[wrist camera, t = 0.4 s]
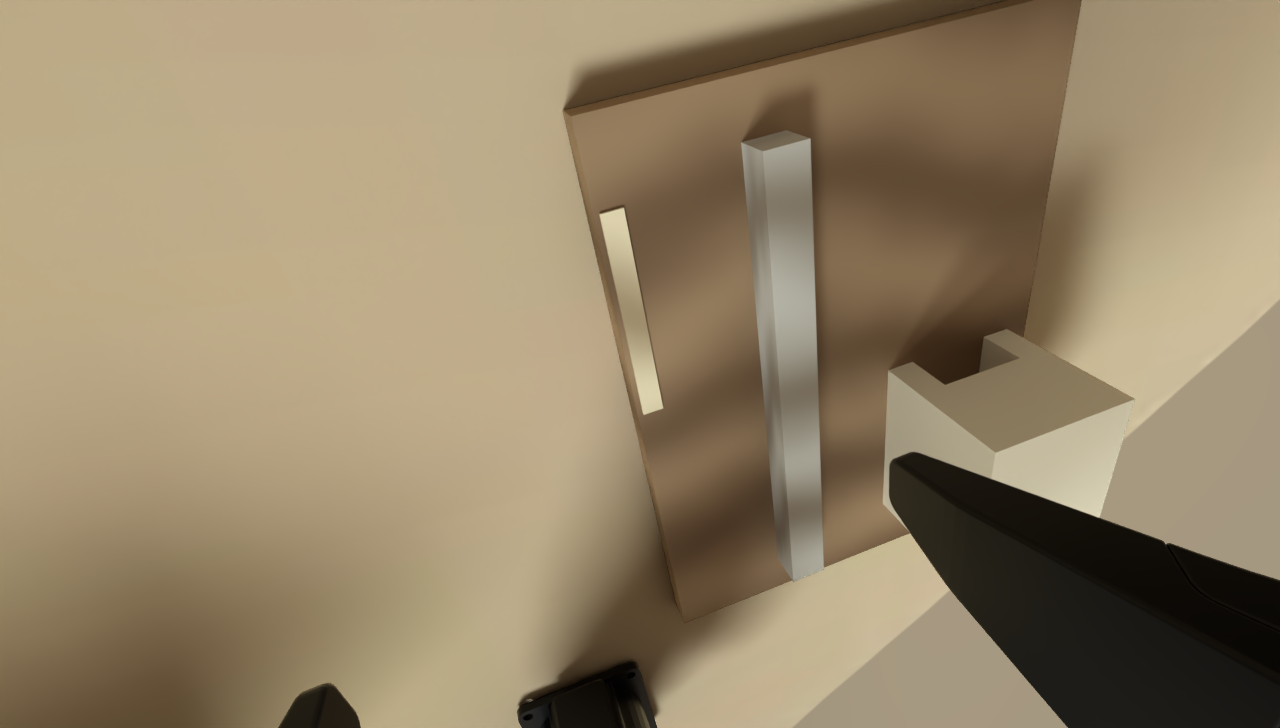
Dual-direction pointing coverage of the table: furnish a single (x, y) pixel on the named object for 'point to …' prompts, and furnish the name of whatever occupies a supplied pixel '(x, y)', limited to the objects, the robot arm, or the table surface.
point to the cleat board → (874, 258)
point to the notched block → (1013, 422)
